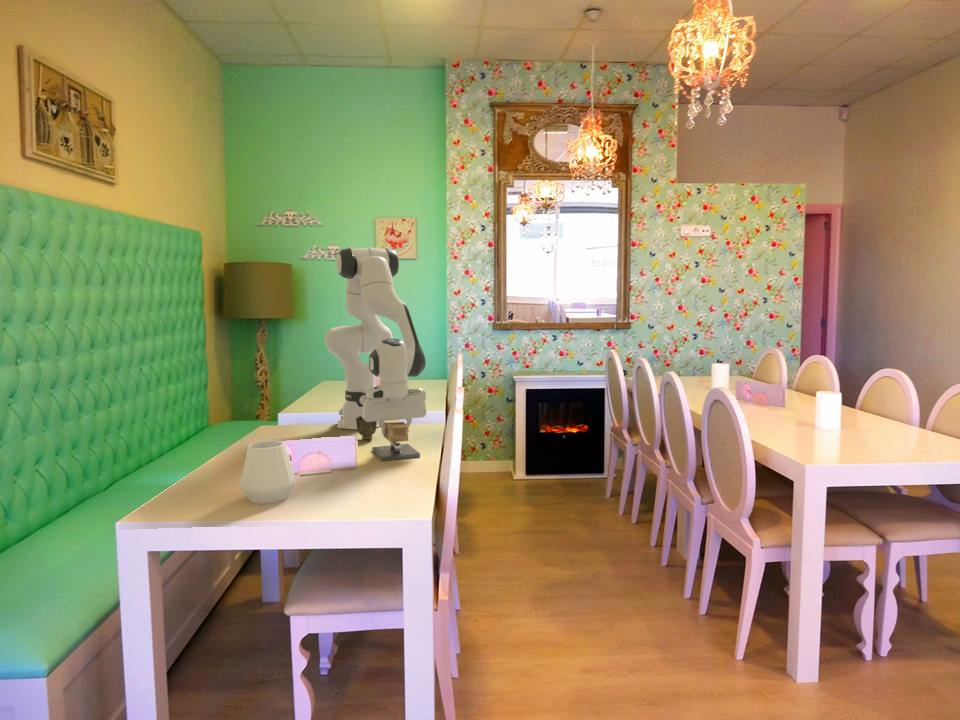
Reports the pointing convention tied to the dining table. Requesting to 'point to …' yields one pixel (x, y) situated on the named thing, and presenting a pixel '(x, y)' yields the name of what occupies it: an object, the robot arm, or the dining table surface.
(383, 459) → the slate base plate
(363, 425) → the cup
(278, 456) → the cream vase
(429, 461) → the dining table surface
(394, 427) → the block
